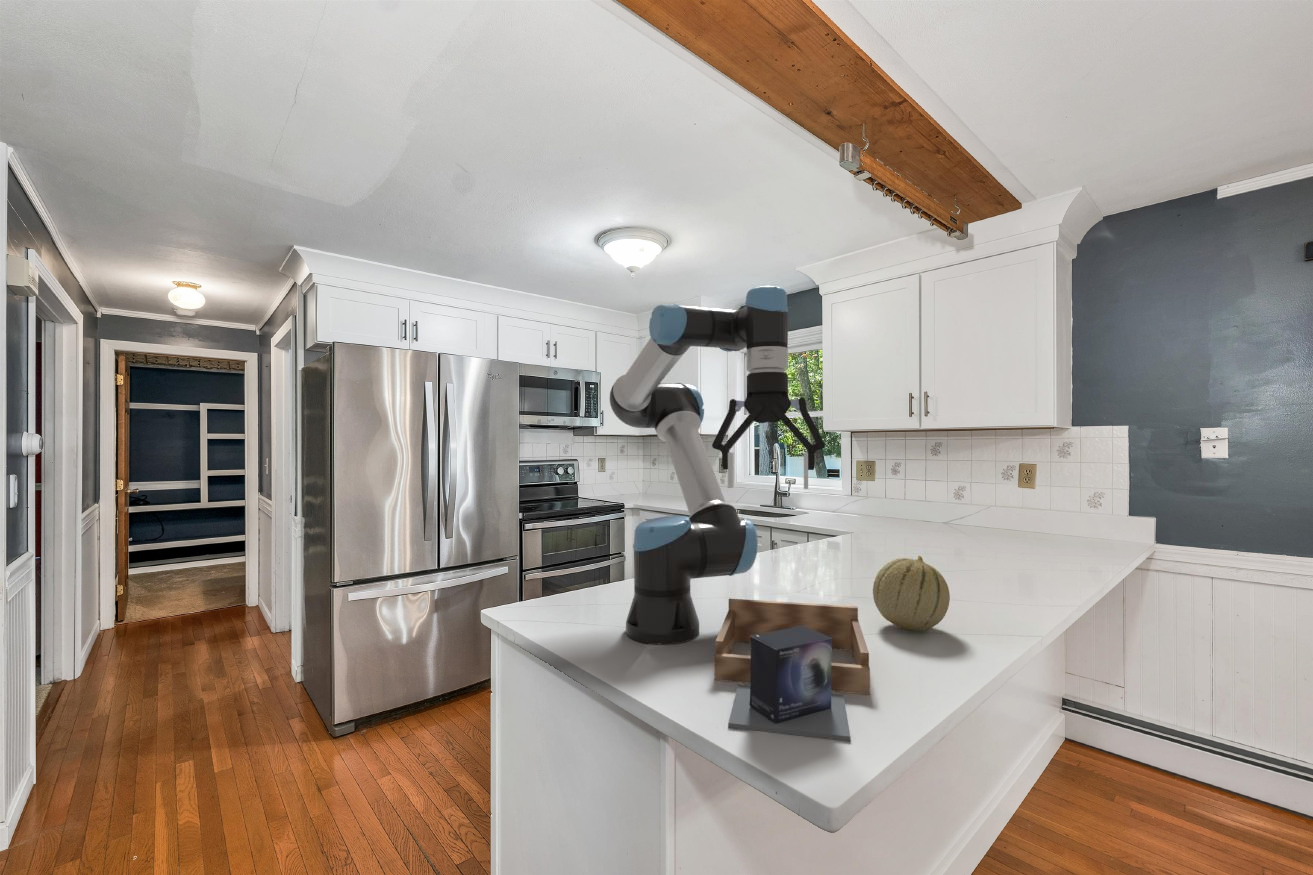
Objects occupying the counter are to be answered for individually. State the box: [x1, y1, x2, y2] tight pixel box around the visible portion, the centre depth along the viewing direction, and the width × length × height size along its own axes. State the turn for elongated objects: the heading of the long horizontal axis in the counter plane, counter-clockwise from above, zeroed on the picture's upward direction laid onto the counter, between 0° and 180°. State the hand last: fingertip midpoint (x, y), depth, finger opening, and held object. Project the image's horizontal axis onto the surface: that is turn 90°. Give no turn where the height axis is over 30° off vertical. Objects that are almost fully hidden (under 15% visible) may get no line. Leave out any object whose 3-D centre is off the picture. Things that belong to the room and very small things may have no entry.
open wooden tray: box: [714, 598, 871, 696], centre depth 103 cm, size 24×20×8 cm
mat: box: [727, 684, 851, 742], centre depth 84 cm, size 16×13×1 cm
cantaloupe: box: [872, 555, 951, 632], centre depth 121 cm, size 15×15×15 cm
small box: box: [749, 626, 833, 723], centre depth 84 cm, size 11×6×10 cm, turn 118°
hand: (767, 488), depth 107 cm, fingers open, 13 cm apart
